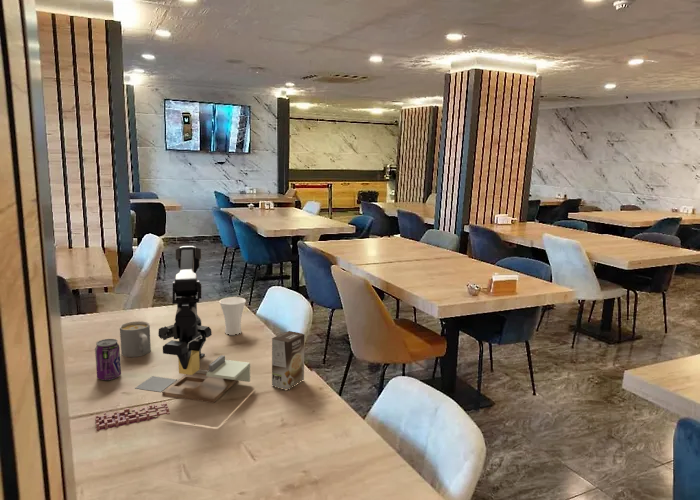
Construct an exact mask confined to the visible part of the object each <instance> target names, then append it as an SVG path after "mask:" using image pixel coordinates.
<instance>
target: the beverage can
mask: <svg viewBox="0 0 700 500" xmlns="http://www.w3.org/2000/svg"><path fill="white" fill-rule="evenodd" d="M95 344H96V345H95V348H94V352H95V353H94V355H95V367H96V378H97V379H98V380H102V381H111V380H115V379H117V378H119V377H120V376H121V375H122V367H121V364H122V363H121V347H120V344H119V343H118V340H117V339H116V338H103V339H101V340H98V341H96V342H95Z"/></svg>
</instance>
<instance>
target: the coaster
mask: <svg viewBox="0 0 700 500" xmlns="http://www.w3.org/2000/svg"><path fill="white" fill-rule="evenodd" d="M177 380H178V378H177V379H176V378H169V377H162V376H161V377H160V376H156V375H151V377H149V378H148V379H146V380H145V381H143V382H141V383H140V384H139V385H137V386H136V387H134V389H137V390H144V391H150V392H157V393H162V392H163V391H164V390H165V389H167V388H168V387H169V386H171V385H172V384H173V383H175V382H176V381H177Z"/></svg>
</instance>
